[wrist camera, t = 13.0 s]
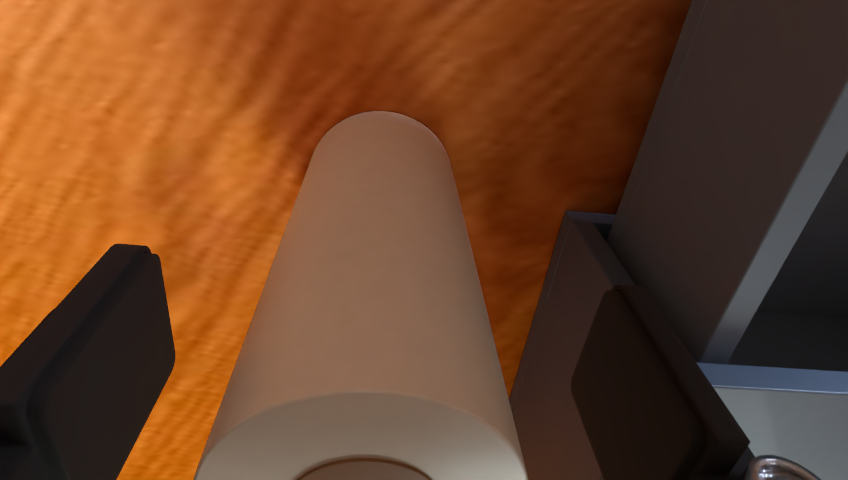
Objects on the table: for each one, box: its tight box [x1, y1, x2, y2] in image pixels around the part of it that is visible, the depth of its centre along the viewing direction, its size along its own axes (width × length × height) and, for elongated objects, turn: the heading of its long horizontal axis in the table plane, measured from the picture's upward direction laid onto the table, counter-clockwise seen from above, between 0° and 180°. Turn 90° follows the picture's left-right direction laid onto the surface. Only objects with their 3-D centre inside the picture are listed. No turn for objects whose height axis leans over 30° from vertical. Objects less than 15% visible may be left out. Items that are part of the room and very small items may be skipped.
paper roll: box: [194, 111, 528, 480], centre depth 13 cm, size 5×5×12 cm
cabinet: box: [509, 210, 848, 480], centre depth 20 cm, size 17×15×9 cm
